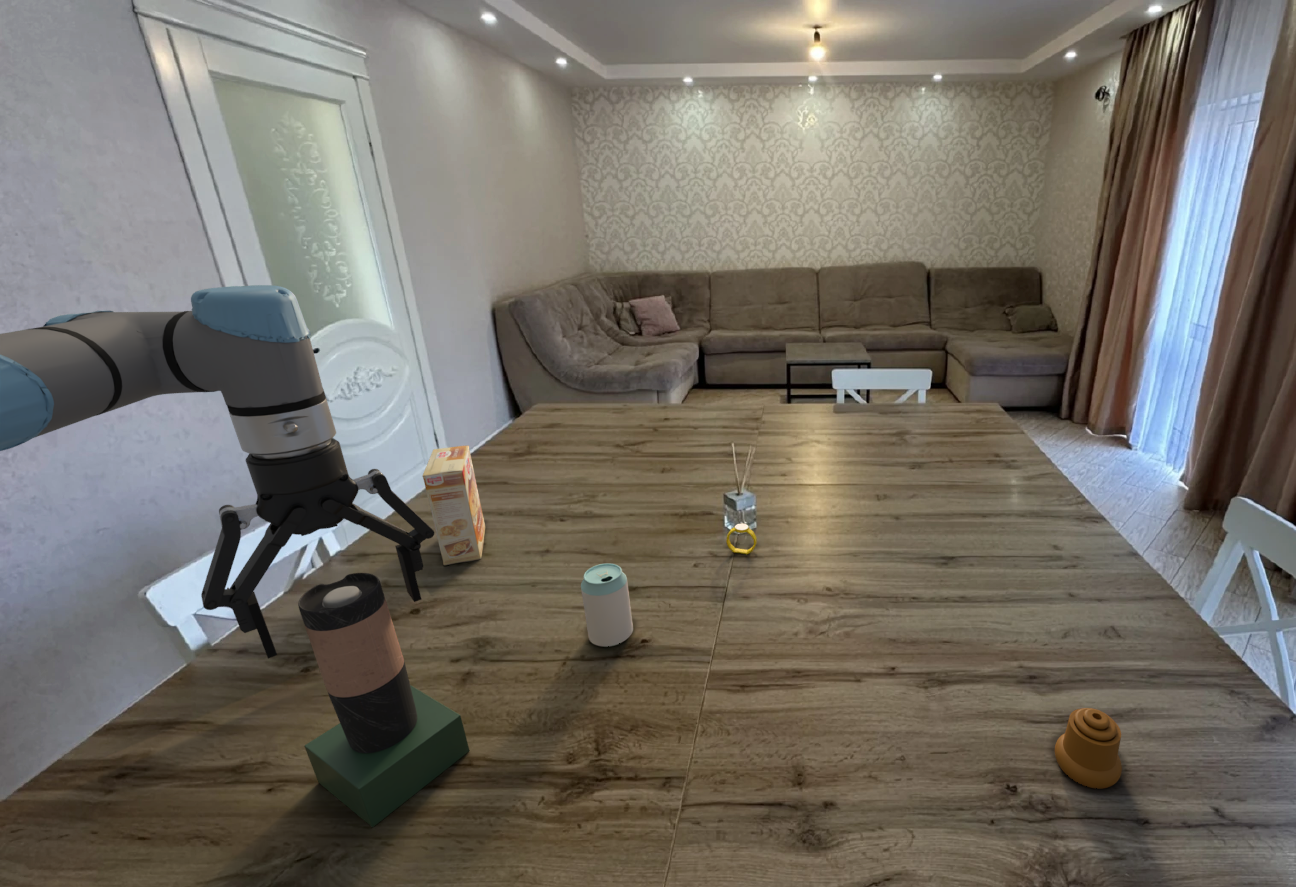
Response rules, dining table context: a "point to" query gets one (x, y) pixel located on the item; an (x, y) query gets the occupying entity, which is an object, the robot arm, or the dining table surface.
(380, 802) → the green block
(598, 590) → the can
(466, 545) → the coffeecake box
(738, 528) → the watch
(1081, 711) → the ornamental finial
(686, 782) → the dining table surface
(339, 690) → the travel mug
